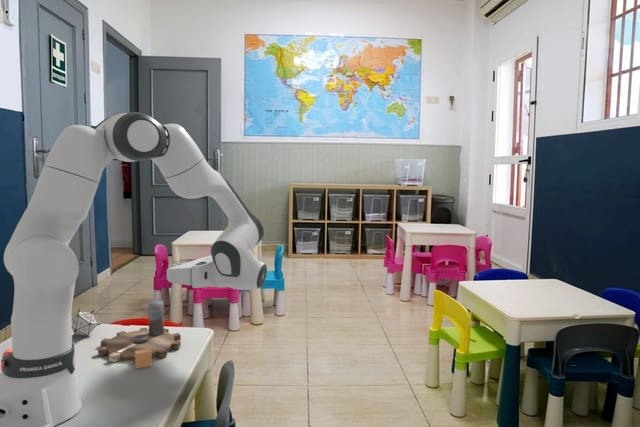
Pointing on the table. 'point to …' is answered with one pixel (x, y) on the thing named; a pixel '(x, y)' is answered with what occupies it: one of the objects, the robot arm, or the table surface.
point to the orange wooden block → (143, 358)
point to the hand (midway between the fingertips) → (173, 266)
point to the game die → (83, 323)
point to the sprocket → (142, 338)
